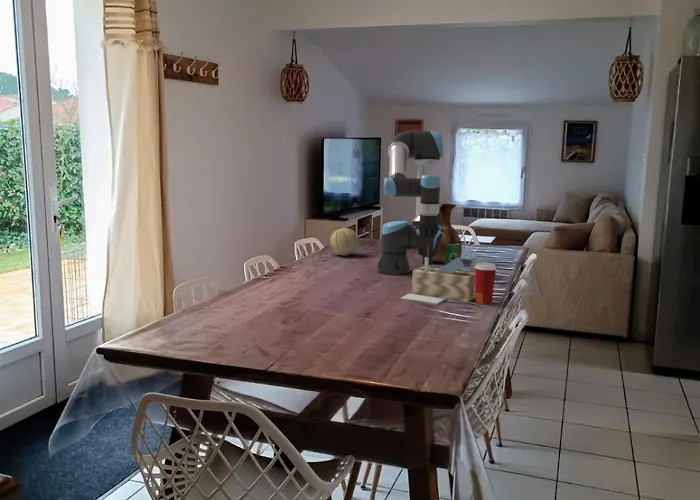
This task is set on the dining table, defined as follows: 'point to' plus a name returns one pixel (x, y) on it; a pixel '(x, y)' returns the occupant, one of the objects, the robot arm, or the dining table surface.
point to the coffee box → (452, 252)
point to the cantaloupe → (344, 241)
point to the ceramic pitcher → (446, 231)
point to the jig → (444, 284)
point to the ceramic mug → (475, 264)
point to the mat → (422, 299)
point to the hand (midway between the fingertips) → (427, 272)
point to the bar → (451, 266)
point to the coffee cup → (484, 282)
